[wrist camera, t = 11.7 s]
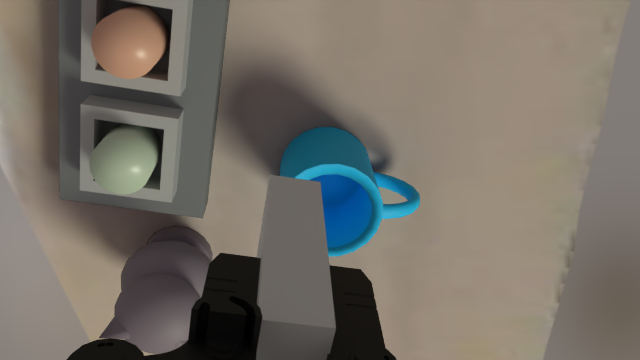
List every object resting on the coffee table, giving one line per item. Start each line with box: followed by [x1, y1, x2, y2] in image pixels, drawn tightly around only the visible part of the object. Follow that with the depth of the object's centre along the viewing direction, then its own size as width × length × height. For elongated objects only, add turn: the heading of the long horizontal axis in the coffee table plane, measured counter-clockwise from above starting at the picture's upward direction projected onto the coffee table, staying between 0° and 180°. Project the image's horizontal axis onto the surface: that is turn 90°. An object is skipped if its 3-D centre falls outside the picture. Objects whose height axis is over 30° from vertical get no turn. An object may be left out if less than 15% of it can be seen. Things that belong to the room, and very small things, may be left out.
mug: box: [280, 127, 420, 256], centre depth 49 cm, size 12×8×8 cm
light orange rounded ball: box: [91, 5, 169, 79], centre depth 41 cm, size 4×4×4 cm
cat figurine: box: [99, 226, 212, 354], centre depth 50 cm, size 8×8×12 cm
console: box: [58, 0, 230, 218], centre depth 44 cm, size 30×12×5 cm, turn 170°
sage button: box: [89, 123, 161, 194], centre depth 45 cm, size 4×4×4 cm
